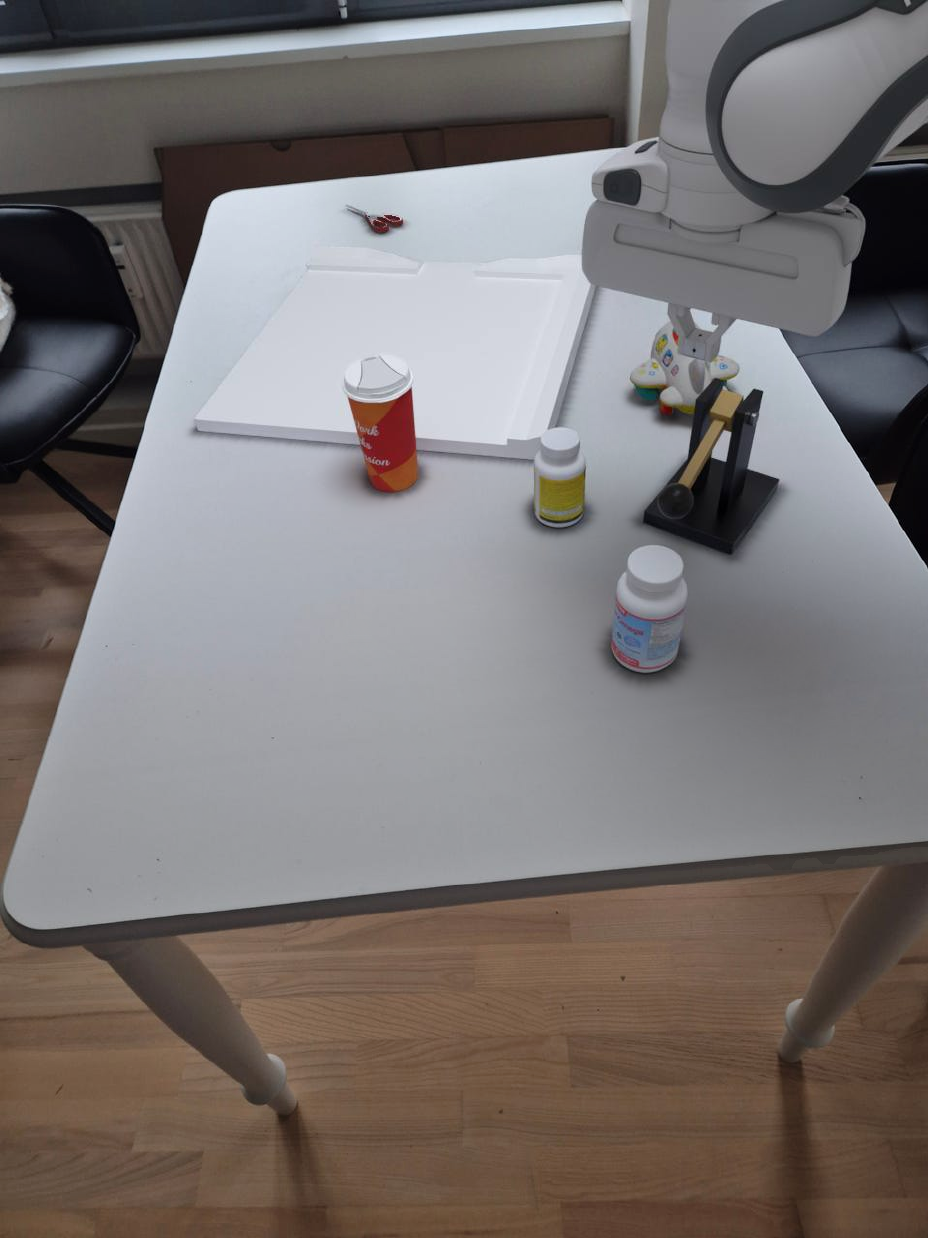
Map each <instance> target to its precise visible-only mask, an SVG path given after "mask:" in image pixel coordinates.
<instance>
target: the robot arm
mask: <svg viewBox="0 0 928 1238" xmlns="http://www.w3.org/2000/svg"><path fill="white" fill-rule="evenodd" d="M668 6H669V7H668V13H667V24H666V34H665V35H666V36H665V46H664V47H665V48H664V67H665V72H666V76H667V77H666V78H667V86H668V87H667V89H668V90H667V99H666V103H665V108H664V111H663V113H662V116H661V119H660V123H659V127H658V128H659V131H658V136H656V137H650V138H646V139H642V140H638V141H636V142H634V143H631V144H630V145H628V146H626V147H625V148H623V149H621V150H620V151H618V152H616V153H615V154H613V155H612V156H611V157H610V158H608V159H607V160H605V161H604V162H603V163H602V164H601V165H600V166H598V168H596V169H595V171H594V172H593V173H592V176H591V185H590V186H591V193H592V196H593V197H594V198H595V199H596V200H595V201H593V202H592V203H591V204H590V206H589V207H588V209H587V212H586V214H585V218H584V224H583V233H582V241H581V255H582V260H581V261H582V271H583V273H584V275H585V277H586V278H587V280H588V282H589V283H590V284H591V285H594V286H596V287H599V288H604V289H608V290H611V291H616V292H620V293H624V294H630V295H633V296H637V297H642V298H646V299H650V300H656V301H659V302H663V303H667V311H666V312H667V313H666V315H667V316H668V319H669V322H670V321H671V323H672V325H673V327H674V329H675V332H676V334H677V335H678V336H679V339H678V349H677V353H678V354H680V355H683V356H687V357H692V358H696V359H700V360H703V361H707V362H711V363H712V361H713V360H714V359H715V358H716V357H717V356H718V355H719V353H720V351H721V343H722V337H723V336H724V335H725V334H726V333H727V332H728V330H729V329H730V328H731V327H732V325H733V324H734V323H735V322H736V321H737V320H740V321H745V322H749V323H753V324H757V325H762V326H766V327H770V328H775V329H779V330H782V331H783V330H784V331H787V332H791V333H796V334H800V335H804V336H809V337H819V336H821V335H823V333H825V332H826V331H828V330H829V329H831V328H832V327H833V326H834V325H835V324H836V323H837V322H838V320H839V318H840V317H841V316H842V314H843V312H844V311H845V307H846V304H847V300H848V294H849V289H850V283H851V276H852V275H851V274H852V265H853V264H852V263H853V262H854V260H856V258H857V257H858V255H859V254H860V251H861V248H862V244H863V241H864V236H865V232H866V219H865V216H864V215H863V213H862V211H861V210H860V208H859V207H857V206H856V205H854V204H853V203H850V198H849V197H847V196H845V195H844V194H845V193H847V192H848V190H850V189H851V188H852V187H853V186H854V185H855V184H856V183H857V182H858V181H859V180H860V179H861V178H863V176H864V175H866V173H868V171H870V169H871V168H872V167H873V166H874V165H875V164H876V163H877V162H879V161H880V160H881V159H882V158H884V157H885V156H886V155H887V154H888V153H890V152H891V151H892V150H893V149H895V148H896V147H897V146H898V145H900V144H901V143H902V142H903V141H904V140H906V139H907V138H908V137H910V136H911V135H912V134H914V133H915V132H916V131H918V129H920V128H921V127H922V126H923V125H925V124H926V123H927V122H928V0H669V4H668ZM846 211H848V212H846ZM692 309H693V310H698V311H702V312H706V313H709V314H710V313H711V319H710V320H711V321H710V323H711V325H712V326H716V328H715V329H714V330H713V331H710V330H707V329H706V330H705V329H701V328H700V329H698V328H696V326H695V323H696V322H695V320H694V317H693V315H692V312H691V310H692ZM694 322H695V323H694Z"/></svg>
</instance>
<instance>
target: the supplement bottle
mask: <svg viewBox="0 0 928 1238" xmlns="http://www.w3.org/2000/svg"><path fill="white" fill-rule="evenodd" d="M540 447H541V450H540V451H539V452H538V453H537V454H536V456H535V459H534V460H533V504H534V506H533V507H534V510H533V511H534V515H535V517H536V519H537V520H538V521H539V522H540V523H542V524H544V525H546V526H548V527H552V528H565V527H570V526H572V525H574V524H577V523H578V522H579V521H580V520H581V519H582V518H583V515H584V512H585V495H586V494H585V492H586V474H587V473H586V471H587V461H586V456H585V454H584V452H582V450H581V437H580V435H579V433H578V432H577V431H576V430H574V429H572V428H570V427H563V426H557V427H555V428H552V429H549V430H547V431H546V432H544V433H543V434H542V436H541V444H540Z"/></svg>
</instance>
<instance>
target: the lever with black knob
mask: <svg viewBox="0 0 928 1238" xmlns="http://www.w3.org/2000/svg"><path fill="white" fill-rule="evenodd" d="M744 398H745V396H744V394H741V393H737V392H734V391H729V390H728V391H726V390H722V391H721V393H720V395H719V396H718V398H717V400H716V402H715V403H714V405H713V407H712V408H711V410H710V425H711V426H710V428H709V429H708V431H707V433H706V435H705V436H704V438H703V440H702V442H701V443H700V445H699V447H698V449H697V450H696V452H695V454H694V456H693V457H692V459H691V461H690V463H689V464H688V466H687V468H686V470H685V471H684V473H683V475H682V477H681V479H680V480H679V482H678V483H672V484H669V485H667V486H665V485H664V486H663V488H662V489H661V490H660V491H661V492H660V491H659V492H658V494H659V495H658V494H657V495H658V500H657V503H658V508H659V510H660V511H661V513H662V514H663V515H664V516H666V517H668V518H671V519H680V518H683V517H685V516H686V515H688V514H689V513H690V511H691V510H692V508H693V505H694V496H693V493H692V491H691V490H690V489H691V487H692V486H693V484H694V482H695V480H696V478H697V477H698V475H699V473H700V471H701V470H702V468H703V466H704V464H705V463H706V461H707V459H708V457H709V455H710V454H711V452H712V453H713V451H712V450H714V448H715V447H716V445H717V443H718V442H719V439H720V437H721V436H722V434H723V433H724V431H725V432H728V433H731V432H732V426H733V421H734V415H735V411H736V409H737V408H738V407H739V406H740V405H741V403H742V402H743V401H744V400H745V399H744Z"/></svg>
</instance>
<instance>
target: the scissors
mask: <svg viewBox="0 0 928 1238" xmlns="http://www.w3.org/2000/svg"><path fill="white" fill-rule="evenodd" d="M345 207H348V208H349V209H351V210H353V211H355V212H356V213H359V214H362V215H363V216H364V217H365V219H366V221H368V223H369V225H370V228H371V229H372V230H373V231H375V232H378V233H385V232H387V231H389V229H390V228H389V225H390V226H393V227H398V226H401V225H402V224H404V218H403V217H402V220H401V221H398V220H400V218H399V217H396V216H397V215H396V216H392V215H393V214H391V215H384V216H385V217H386V218H388V219H390V220H392V221H398V222H392V221H389V220H387V219H386V218H383V217H377V220H379V221H382V222H385V223H387V224H388V225H387V226H386V224H385V223H382V222H379V221H376V220H374V221H373V224H374V225H375V226H377V227H378V226H379V227H380V228H377V227H375V226H373V225H372V224H371V222H370V220H369V218H368V217H370V216H368V217H367V215H366V213H367V211H363V210H361V209H358V208H356V207H354V206H351V205H348V204H345ZM384 226H386V227H384ZM381 227H382V228H381ZM383 227H384V228H383Z"/></svg>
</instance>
